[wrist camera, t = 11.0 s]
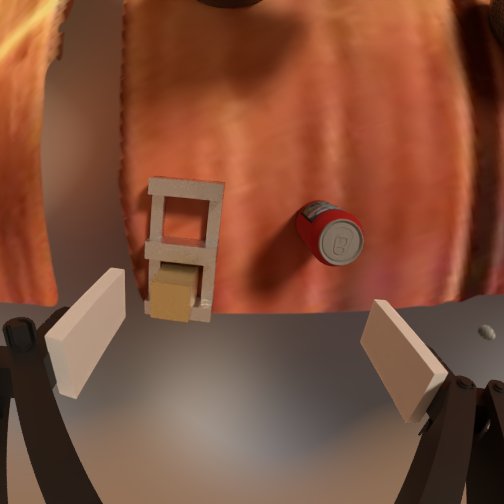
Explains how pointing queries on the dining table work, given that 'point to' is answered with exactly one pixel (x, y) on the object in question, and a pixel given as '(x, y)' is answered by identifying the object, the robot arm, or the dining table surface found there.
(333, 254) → the beverage can
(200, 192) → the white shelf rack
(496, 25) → the planter
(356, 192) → the dining table surface
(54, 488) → the robot arm
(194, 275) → the brass block
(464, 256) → the dining table surface
